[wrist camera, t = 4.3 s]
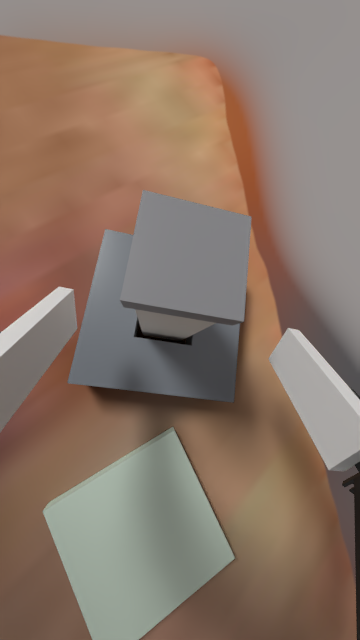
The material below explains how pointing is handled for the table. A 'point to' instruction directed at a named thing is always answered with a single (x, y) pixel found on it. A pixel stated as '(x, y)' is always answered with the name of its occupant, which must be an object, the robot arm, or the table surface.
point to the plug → (186, 267)
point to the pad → (137, 539)
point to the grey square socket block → (146, 342)
